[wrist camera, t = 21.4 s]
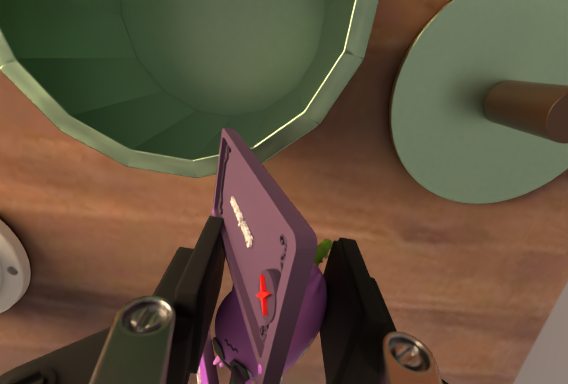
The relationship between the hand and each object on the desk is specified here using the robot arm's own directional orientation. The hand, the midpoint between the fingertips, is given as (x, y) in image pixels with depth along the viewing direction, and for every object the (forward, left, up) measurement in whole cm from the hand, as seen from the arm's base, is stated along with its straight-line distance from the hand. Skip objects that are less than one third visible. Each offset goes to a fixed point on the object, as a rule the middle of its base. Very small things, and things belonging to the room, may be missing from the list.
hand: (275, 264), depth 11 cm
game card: (0, 0, -1) cm, 1 cm away
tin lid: (+14, +7, -12) cm, 20 cm away
